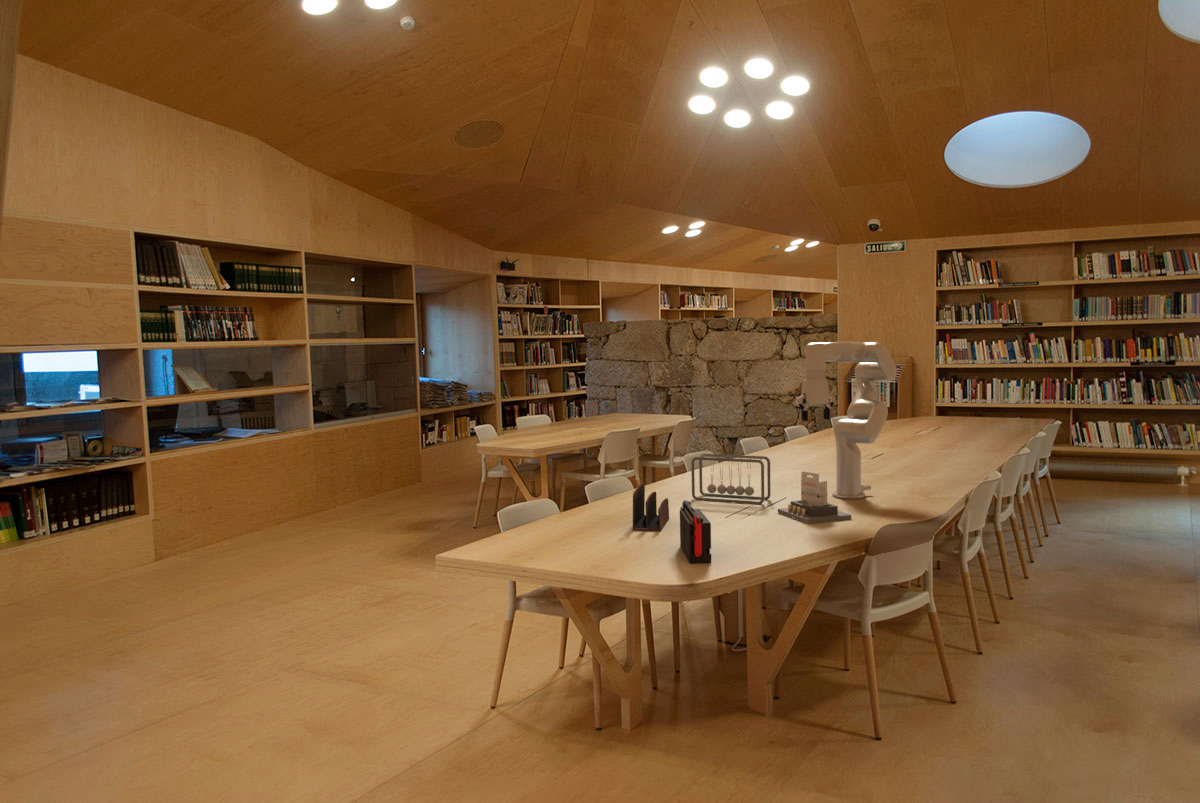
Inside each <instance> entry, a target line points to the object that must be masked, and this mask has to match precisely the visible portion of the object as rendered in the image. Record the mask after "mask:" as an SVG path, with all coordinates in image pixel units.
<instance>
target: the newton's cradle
mask: <svg viewBox="0 0 1200 803" xmlns="http://www.w3.org/2000/svg"><path fill="white" fill-rule="evenodd" d="M762 460H766V464H767V472H766V473H767V495H766V497H765V464H764V462H763V461H762ZM695 461H698V464H699V466H698V468H699V470H698V472H699V473H698V474H699V493H700V494H701V496H699V497H698V496H696V495H695V494H696V492H695V488H696V487H695V486H696V485H695ZM703 461H710V462H709V463H710V465H712V461H713V462H716V461H717V462H719V463H721V462H734V463H735V462H737V463H747V464H746V466H747V467H746V468H752V467H751V463H758V464H760V472H761V473H760V489H761V490H760V492H761V493H760V494H761V496H753V494H754V492H755V490H754V488H753V486H750V485H751V481H750V475H747V478H748V479H747V481H748V486H746V487H745V488H744V486H742V485H741V480H742V479H741V478H742V474H739V479H738V482H739V484H738V486H736V487H735V486H734V485H732V478H733V477H732V476H733V474H732V473H733V470H730V469H731V468H730V467H728V471H729V475H730V481H729V485H727V486H725V484H723V482H720V484H719V485H718V486H716V485H715V484H714V483H713V482H714V481H713V480H714V477H713V475H710V479H711V484H708V486H707V488H706V490H707V491H708V492H706V493H705V492H704V491H703ZM748 464H749V466H748ZM714 466H715V463H713V466H712V467H713V468H712V471H714V469H715V467H714ZM690 468H691V495H692V496H691V497H692V498H693V499H694V500H695V501H702V500H704V501H705V502H717V501H719V502H720V503H731V502H735V503H736V504H745V503H750V504H751V505H762V504H763V503H764V502H765V501H767V500H769V499H770V497H771V460H770V458H769V457H767V456H763V455H762V456H761V455H741V454H740V455H739V454H720V453H718V454H715V453H702V454H700V455H699V456H696V457H695V456H694V457H693V458H692V459H691V467H690ZM719 470H720V471H719V473H720V476H721V479H723V474H724V472H723V471H724V468H722V471H721V469H719ZM737 470H738V472H740V467H739V465H737ZM716 492H718V493H716ZM725 493H727V494H725ZM735 493H736V495H735ZM744 494H745V495H744ZM713 496H716V498H714V497H713ZM708 497H709V498H708ZM710 497H711V498H710ZM728 497H731V499H728ZM724 498H727V499H724ZM743 498H748V500H739V499H743ZM758 499H761V500H759V501H755V500H758ZM764 499H766V500H764ZM752 500H753V501H752ZM704 501H703V502H704ZM735 503H734V504H735Z"/></svg>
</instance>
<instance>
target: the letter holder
mask: <svg viewBox="0 0 1200 803" xmlns="http://www.w3.org/2000/svg"><path fill="white" fill-rule="evenodd" d="M645 489H646V486H645V483H641V484H639V485H638V486H637V487H636V488H635V490H634V491H633V494H632V531H639V532H642V531H643V532H661V531H662V530H663V528H664V527H665V525H666V524H667V522H668V521H669V519H670V510H669V509H670V508H669V507H670V506H669V498H668V497H666V498H664V499H663V500H662V501H661V503H660V506H659V507H658V510H657V492H656V491H652V492H651V493H650V494H649V495H648V497H647V498H646V500H645V496H646V494H645V493H646V490H645Z"/></svg>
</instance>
